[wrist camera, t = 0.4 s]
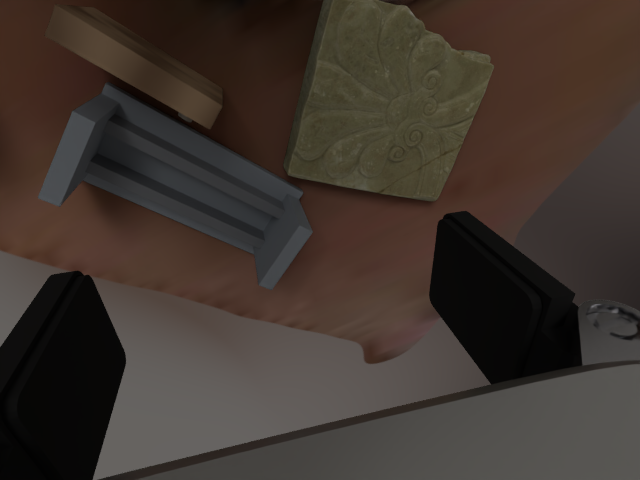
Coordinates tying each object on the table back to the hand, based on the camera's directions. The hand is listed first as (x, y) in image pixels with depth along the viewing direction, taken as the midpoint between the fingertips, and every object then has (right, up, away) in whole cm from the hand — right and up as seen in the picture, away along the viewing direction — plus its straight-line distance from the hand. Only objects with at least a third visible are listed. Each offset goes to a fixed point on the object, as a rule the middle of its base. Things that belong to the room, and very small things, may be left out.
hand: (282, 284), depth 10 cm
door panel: (-14, +18, +25) cm, 34 cm away
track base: (-13, +8, +31) cm, 34 cm away
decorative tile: (+8, +16, +32) cm, 37 cm away
